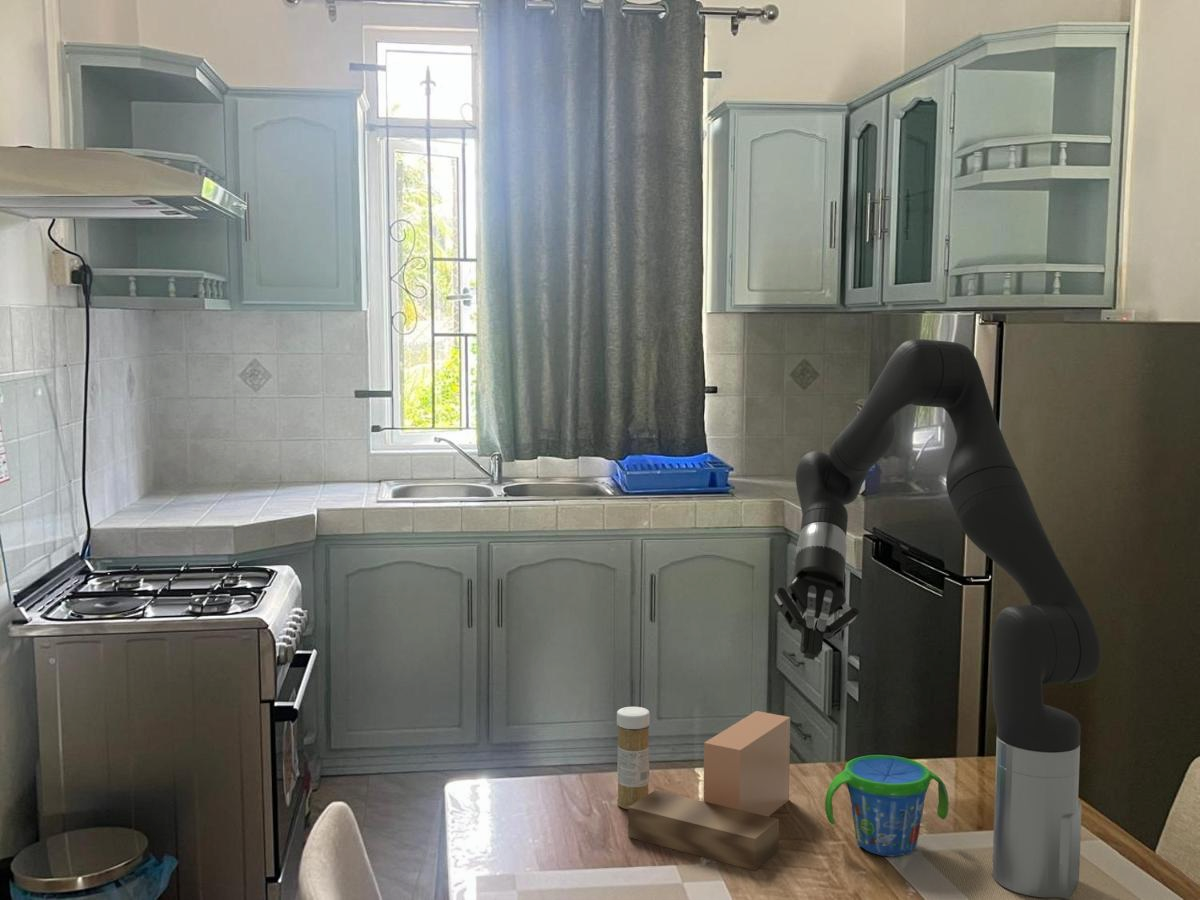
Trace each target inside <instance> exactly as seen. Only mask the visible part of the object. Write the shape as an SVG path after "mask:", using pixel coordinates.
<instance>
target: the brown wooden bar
mask: <svg viewBox="0 0 1200 900" xmlns="http://www.w3.org/2000/svg"><path fill="white" fill-rule="evenodd" d="M627 810H628V813H627V814H628V815H627V816H628V818H627V819H628V821H627V827H628V828H627V830H628V831H627V832H628V833H627V834H628V835H627V837H628V838H630V839H634V840H638V841H642V842H645V843H648V844H652V845H656V846H660V847H664V848H668V849H672V850H675V851H679V852H683V853H686V854H692V855H694V856H697V857H702V858H706V859H710V860H713V861H716V862H721V863H725V864H728V865H731V866H732V865H733V866H735V867H740V868H743V869H747V870H751V871H754V872H755V871H757V869H759V868H760V867H761V866H762V865H763V864H765V863H766V862H767V861H768V860H769V859H770V858H772V857H773V855H775V854H776V853H777V852H778V851H779V850H780V849H779V847H780V841H779V840H780V819H779V818H775V817H771V816H769V817H768V816H763V815H759V814H755V813H751V812H746V811H742V810H738V809H734V808H729V807H725V806H721V805H717V804H713V803H708V802H704V800H699V799H695V798H691V797H686V796H683V795H679V794H678V795H677V794H673V793H669V792H665V791H662V790H656V789H655V790H653V791H652V792H650V793H648V795H647V796H645V797H644V798H642V799H641V800H639V801H637V802H636V803H634V804H633V805H631V806H630V807H628V809H627Z"/></svg>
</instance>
